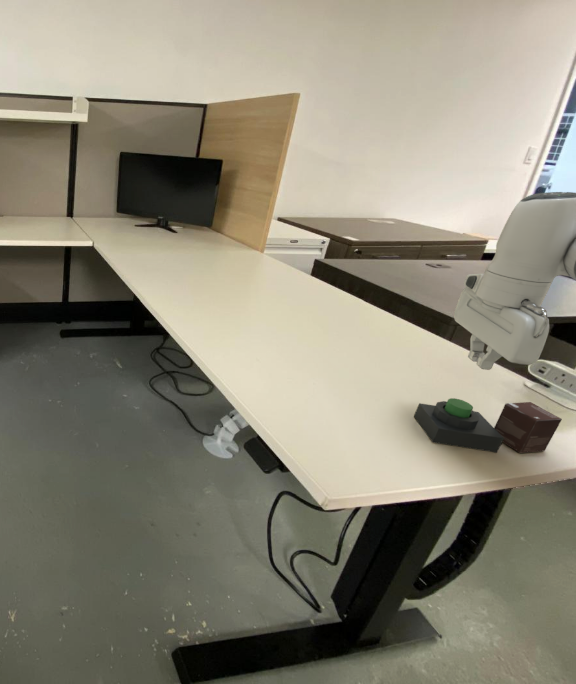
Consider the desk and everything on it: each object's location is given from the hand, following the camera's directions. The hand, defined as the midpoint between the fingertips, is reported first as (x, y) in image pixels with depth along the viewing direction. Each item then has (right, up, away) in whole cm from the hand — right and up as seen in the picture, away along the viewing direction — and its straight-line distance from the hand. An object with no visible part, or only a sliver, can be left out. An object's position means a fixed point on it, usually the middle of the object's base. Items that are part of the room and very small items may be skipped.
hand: (478, 364), depth 84 cm
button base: (0, -14, +6) cm, 15 cm away
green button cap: (-1, -10, +4) cm, 11 cm away
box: (+11, -16, +5) cm, 20 cm away
